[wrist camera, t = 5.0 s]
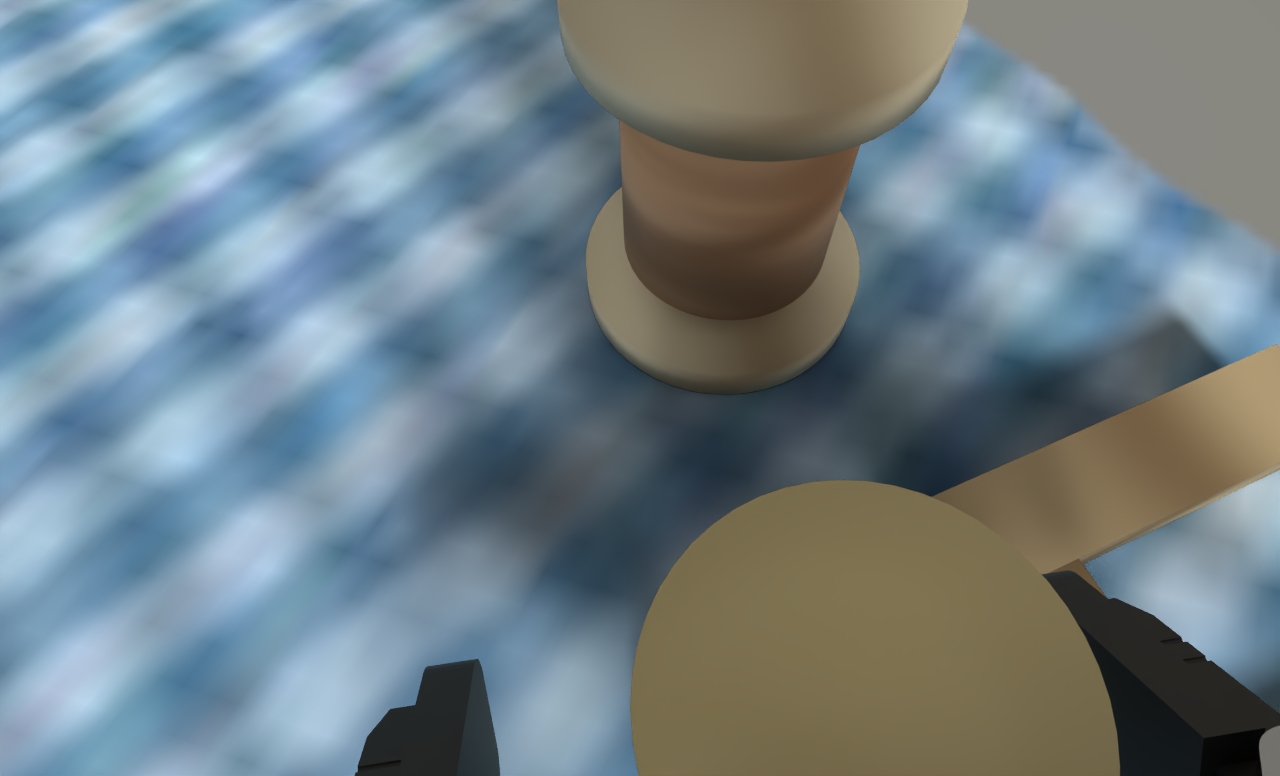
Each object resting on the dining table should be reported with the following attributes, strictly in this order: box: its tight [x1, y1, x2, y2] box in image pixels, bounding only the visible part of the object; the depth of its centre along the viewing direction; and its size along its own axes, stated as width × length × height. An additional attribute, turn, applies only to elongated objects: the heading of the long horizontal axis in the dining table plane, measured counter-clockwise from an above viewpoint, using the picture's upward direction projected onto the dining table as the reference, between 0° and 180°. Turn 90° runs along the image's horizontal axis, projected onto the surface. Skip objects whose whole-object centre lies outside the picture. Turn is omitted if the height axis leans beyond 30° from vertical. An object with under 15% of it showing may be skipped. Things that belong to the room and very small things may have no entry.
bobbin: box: [557, 0, 968, 394], centre depth 18 cm, size 7×7×9 cm
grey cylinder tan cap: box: [630, 480, 1120, 776], centre depth 11 cm, size 4×4×11 cm
